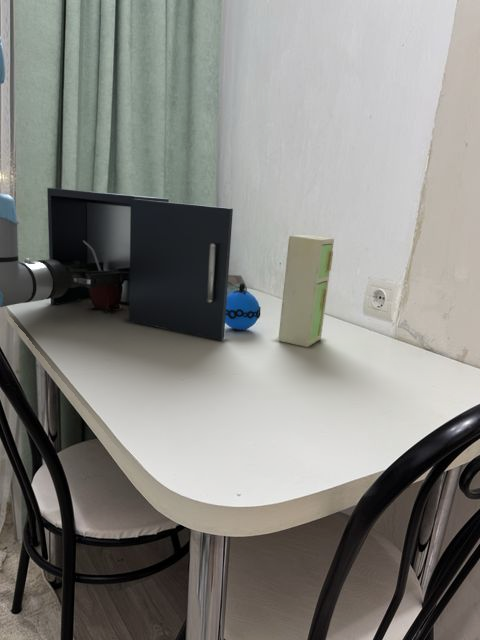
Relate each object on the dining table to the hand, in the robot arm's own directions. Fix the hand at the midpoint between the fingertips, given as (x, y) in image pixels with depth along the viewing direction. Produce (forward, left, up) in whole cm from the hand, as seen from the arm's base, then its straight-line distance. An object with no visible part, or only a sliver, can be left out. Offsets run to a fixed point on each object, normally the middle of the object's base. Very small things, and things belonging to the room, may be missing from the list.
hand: (117, 270), depth 117 cm
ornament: (+32, 0, -9) cm, 33 cm away
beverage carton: (+17, +24, -9) cm, 31 cm away
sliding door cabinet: (+11, -5, -9) cm, 15 cm away
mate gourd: (0, -5, -9) cm, 10 cm away
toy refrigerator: (+46, +1, -9) cm, 47 cm away
